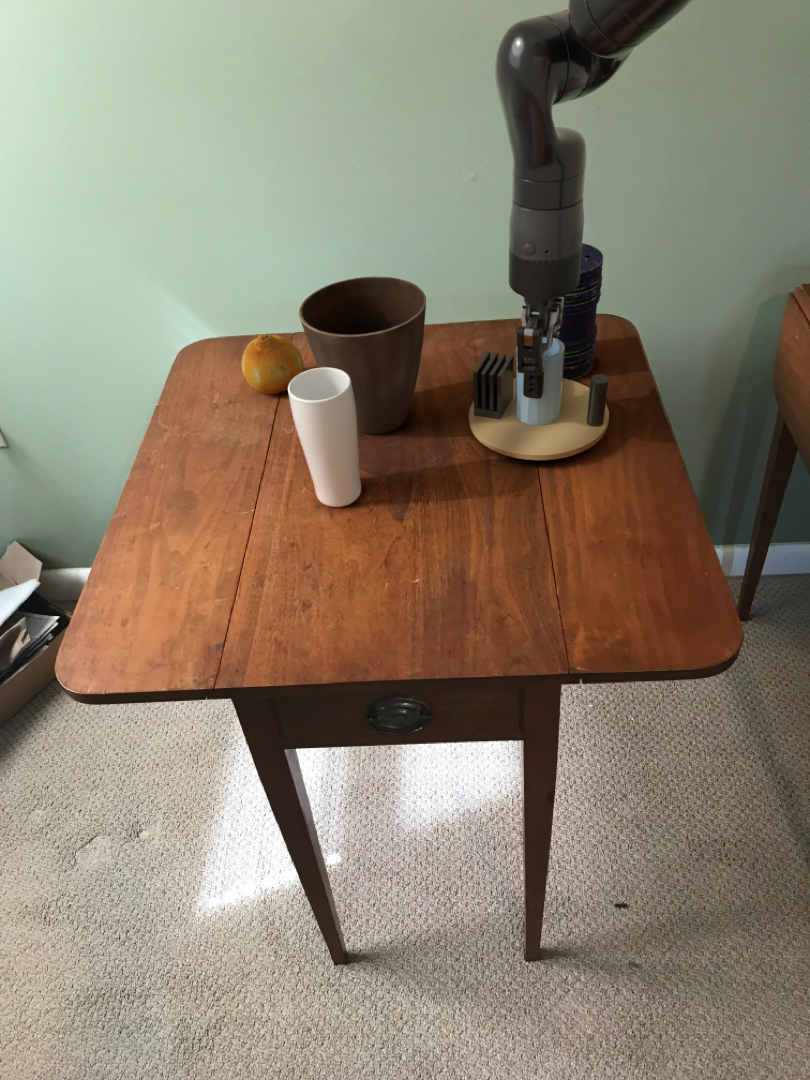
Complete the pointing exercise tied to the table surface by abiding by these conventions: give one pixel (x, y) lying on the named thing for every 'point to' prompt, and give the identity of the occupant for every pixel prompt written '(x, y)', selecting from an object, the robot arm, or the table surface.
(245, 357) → the fruit
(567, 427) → the round wooden platform
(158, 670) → the table surface
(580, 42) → the robot arm
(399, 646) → the table surface
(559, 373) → the cup
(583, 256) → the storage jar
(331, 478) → the drinking glass
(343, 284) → the flower pot
